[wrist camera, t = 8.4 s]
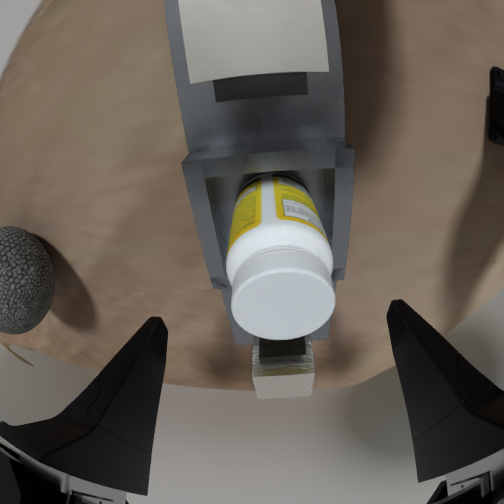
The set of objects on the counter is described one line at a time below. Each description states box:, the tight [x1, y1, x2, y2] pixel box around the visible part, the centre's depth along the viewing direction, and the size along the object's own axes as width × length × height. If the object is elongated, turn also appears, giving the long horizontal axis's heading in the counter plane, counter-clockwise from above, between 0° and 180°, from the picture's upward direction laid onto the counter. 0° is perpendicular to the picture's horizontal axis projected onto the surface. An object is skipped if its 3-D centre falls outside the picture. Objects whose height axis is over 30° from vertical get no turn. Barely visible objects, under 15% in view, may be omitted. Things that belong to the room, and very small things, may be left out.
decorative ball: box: [0, 226, 55, 334], centre depth 17 cm, size 10×10×10 cm
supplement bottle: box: [226, 172, 335, 340], centre depth 13 cm, size 5×5×8 cm
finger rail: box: [164, 0, 355, 399], centre depth 15 cm, size 9×29×8 cm, turn 6°
